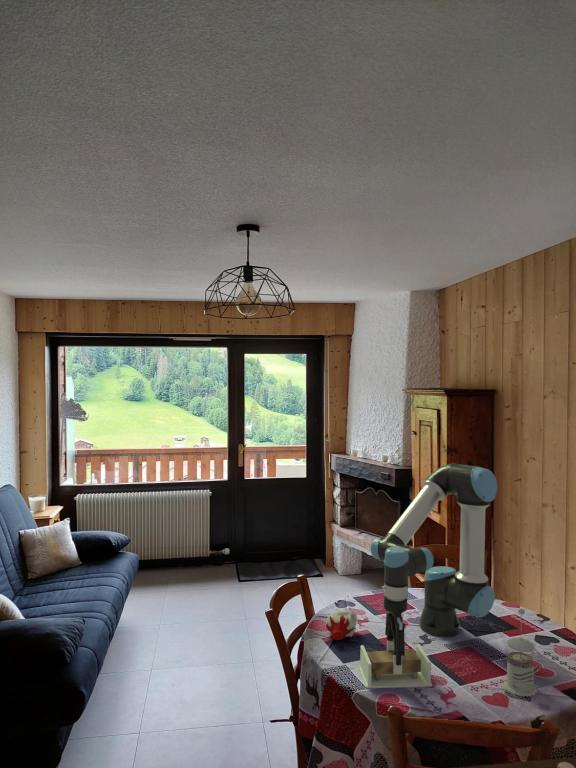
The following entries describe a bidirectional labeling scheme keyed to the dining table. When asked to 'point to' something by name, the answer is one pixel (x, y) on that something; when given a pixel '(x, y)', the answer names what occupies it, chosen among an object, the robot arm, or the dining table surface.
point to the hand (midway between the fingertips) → (394, 667)
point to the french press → (516, 680)
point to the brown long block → (384, 662)
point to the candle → (341, 624)
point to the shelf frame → (396, 679)
